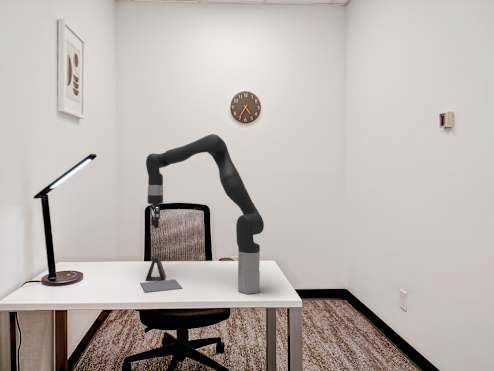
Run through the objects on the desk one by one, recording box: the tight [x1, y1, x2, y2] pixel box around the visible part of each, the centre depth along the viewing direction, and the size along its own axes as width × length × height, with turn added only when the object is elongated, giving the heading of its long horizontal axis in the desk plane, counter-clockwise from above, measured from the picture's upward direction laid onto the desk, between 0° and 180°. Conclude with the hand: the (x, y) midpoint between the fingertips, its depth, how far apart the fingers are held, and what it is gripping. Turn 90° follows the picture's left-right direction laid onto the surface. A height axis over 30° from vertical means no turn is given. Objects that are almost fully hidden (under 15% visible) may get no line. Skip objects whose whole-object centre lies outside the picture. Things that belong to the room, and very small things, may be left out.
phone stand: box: [144, 252, 167, 282], centre depth 176 cm, size 9×6×12 cm, turn 96°
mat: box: [140, 279, 183, 294], centre depth 165 cm, size 14×16×1 cm
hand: (154, 226), depth 184 cm, fingers open, 8 cm apart
